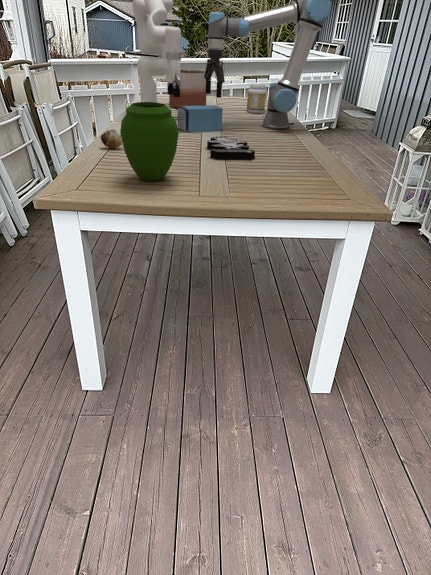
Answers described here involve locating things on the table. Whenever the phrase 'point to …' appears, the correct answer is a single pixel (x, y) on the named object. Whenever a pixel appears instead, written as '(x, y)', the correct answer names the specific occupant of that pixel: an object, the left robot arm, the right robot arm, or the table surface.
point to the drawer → (182, 118)
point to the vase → (149, 139)
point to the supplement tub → (256, 98)
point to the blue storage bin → (204, 118)
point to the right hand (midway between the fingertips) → (213, 95)
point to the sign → (229, 149)
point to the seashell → (111, 139)
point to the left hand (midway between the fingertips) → (173, 95)
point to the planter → (190, 89)
